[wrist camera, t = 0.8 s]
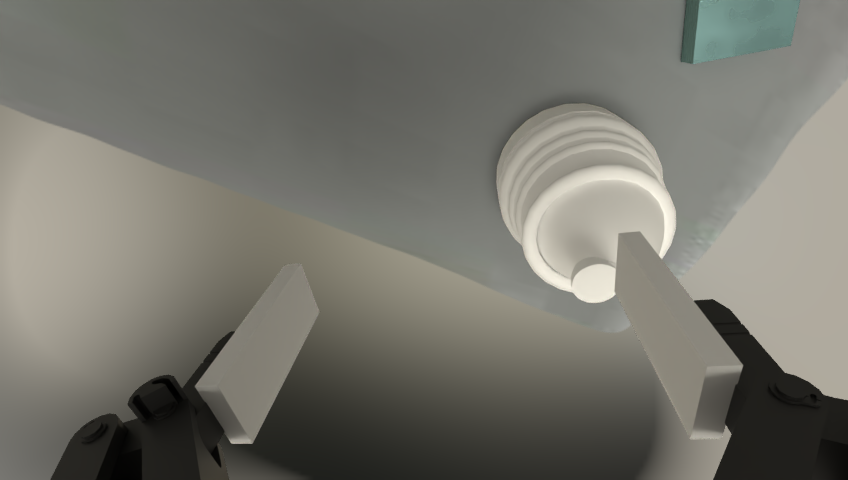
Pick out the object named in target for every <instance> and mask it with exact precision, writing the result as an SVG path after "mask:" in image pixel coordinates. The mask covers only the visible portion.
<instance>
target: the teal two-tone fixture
mask: <svg viewBox="0 0 848 480" xmlns="http://www.w3.org/2000/svg"><path fill="white" fill-rule="evenodd" d="M799 3H800V0H687V1H686V11H685V22H684V33H683V43H682V54H681V62H686V63H691V64H695V63H701V62H706V61H712V60H717V59H722V58H728V57H733V56H738V55H744V54H749V53H754V52H760V51H765V50H770V49H776V48H781V47H786V46H791V41H792V37H793V32H794V27H795V22H796V17H797V13H798V8H799Z"/></svg>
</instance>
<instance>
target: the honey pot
mask: <svg viewBox="0 0 848 480" xmlns="http://www.w3.org/2000/svg"><path fill="white" fill-rule="evenodd" d="M496 185H497V192H498V198H499V205H500V209H501V213H502V217H503V221H504V223H505V224H506V226H507V228H508V229H509V231H510V233H511V234H512V236H513V237H514V239H516V240H517V241H518V242H519V243H520V244H521V245H522V246H523V250H524V255H525V258H526V259H527V261H528V263H529V264H530V266H531V268H532V269H533V271H534V272H535V273H536V274H537V275H538V276H539V277H541V278H542V279H543V280H544V281H545V282H547V283H549V284H551V285H553V286H554V287H556V288H558V289H561V290H565V291H569V292H573V293H574V294H575V295H576V297H578V298H579V299H580V300H582V301H585V302H589V303H599V302H603V301H606V300H608V299H610V298H612V297H613V296H614V295H615V294H616V293H615V291H614V289H615V275H616V261H617V247H618V233H626V232H636V231H640V232H641V233H642V234H643V236H644V237H645V238H646V240H647V241H648V242H649V244H650V245H651V246H652V247H653V249H654V250H655V251H656V253H657V254H658V255H659V257H660V258H661V259H662V258H663V257H664V255H665V254H666V252H667V250H668V249H669V247H670V246H671V243H672V240H673V237H674V233H675V230H676V210H675V207H674V205H673V202H672V200H671V197H670V194H669V192H668V191H667V190H666V187H665V184H664V182H663V172H662V166H661V163H660V161H659V158H658V156H657V153H656V151H655V148H654V147H653V145H652V144H651V143H650V142H649V141H648V140H647V138H646V137H645V136H644V135H643V134H642V133H641V131H639V130H637V129H636V128H635V127H633V126H632V125H630V124H629V123H627V122H626V121H625V120H623V119H622V118H620V117H618V116H617V115H615V114H613V113H612V112H610V111H608V110H607V109H605V108H602V107H598V106H594V105H590V104H586V103H578V104H563V105H559V106H556V107H552V108H549V109H546V110H544V111H542V112H540V113H538V114H537V115H535V116H533V117H531V118H530V119H528V120H527V121H526V122H524V123H523V124H522V125H521V126H520V127H519V128H518V129H517V130H516V131H515V132H514V133H513V134H512V136H511V137H510V139H509V140H508V142H507V143H506V145H505V147H504V148H503V150H502V153H501V156H500V159H499V162H498V165H497V178H496ZM549 266H550V267H551V268H553V269H554V270H556V271H557V272H559V273H561V274H562V275H561V274H559V273H557V272H555V271H554V270H552V269H551V268H550V267H549ZM563 275H564V276H563ZM565 276H566V277H565Z"/></svg>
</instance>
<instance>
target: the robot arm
mask: <svg viewBox="0 0 848 480" xmlns="http://www.w3.org/2000/svg"><path fill="white" fill-rule="evenodd" d="M614 291H615V293H616V295H617V297H618V299H619V301H620V303H621V305H622V307H623V309H624V311H625V313H626V315H627V317H628V319H629V321H630V323H631V324H632V326H633V328H634V330H635V332H636V334H637V336H638V338H639V340H640V342H641V344H642V346H643V348H644V349H645V352H646V354H647V356H648V358H649V360H650V362H651V364H652V365H653V367H654V369H655V371H656V373H657V375H658V377H659V379H660V381H661V383H662V385H663V387H664V389H665V391H666V393H667V395H668V397H669V399H670V401H671V403H672V404H673V407H674V408H675V410H676V412H677V414H678V416H679V418H680V420H681V422H682V424H683V426H684V428H685V430H686V432H687V434H688V436H689V438H690V439H722V436H723V432H724V429H725V425H726V426H727V427H728V429H729V430H730V432H731V434H732V435H731V438H730V440H729V442H728V445H727V447H726V450H725V452H724V455H723V457H722V459H721V462H720V464H719V467H718V469H717V472H716V474H715V477H714V479H713V480H848V400H843V399H838V398H833V397H829V396H825V395H823V394H822V393H821V391H820V390H819V389H817V388H816V387H814V386H813V385H812V384H811V383H809V382H808V381H805V380H803V379H801V378H799V377H797V376H795V375H791V374H787V373H784V371H783V370H782V369H781V368H780V367H779V366H778V364H777V363H776V362H775V361H774V360H773V359H772V357H771V356H770V355H769V354H768V353H767V352H766V351H765V349H763V347H762V346H761V345H760V344H759V343H758V341H757V340H756V339H755V338H754V337H753V336H752V335H750V333H749V331H748V330H747V329H746V328H745V326H744V325H743V324H741V323H740V321H739V320H738V318H737V317H736V316H735V315H734V314H733V313H732V311H731V310H730V309H728V308H726V307H725V306H723V305H721V304H720V303H718V302H716V301H715V300H713V299H711V300H696V301H693V299H692V298H691V297H690V296H689V294H688V293H687V292H686V290H685V289H684V288H683V286H682V285H681V284H680V283H679V281H678V280H677V279H676V277H675V276H674V275H673V273H672V272H671V271H670V270H669V268H668V267H667V266H666V264H665V263H664V262H663V260H662V259H661V258H660V257H659V255H658V254H657V253H656V251H655V250H654V249H653V247H652V246H651V245H650V244H649V242H648V241H647V240H646V238H645V237H644V236H643V234H642V233H641V232H640V231H636V232H626V233H618V247H617V261H616V275H615V289H614ZM318 314H319V310H318V307H317V305H316V302H315V299H314V297H313V294H312V291H311V289H310V286H309V283H308V281H307V278H306V276H305V273H304V270H303V268H302V265H301V263H300V264H290V265H284V267H283V268H282V270H281V271H280V272H279V274H278V275H277V276H276V278H275V279H274V280H273V282H272V283H271V284H270V286H269V287H268V288H267V290H266V291H265V292H264V294H263V295H262V296H261V298H260V299H259V300H258V302H257V303H256V304H255V306H254V307H253V308H252V310H251V311H250V313H249V314H248V315H247V317H246V318H245V319H244V321H243V322H242V323H241V325H240V326H239V327H238V329H237V330H236V331H234V332H230V333H228V334H227V335H226V336H225V337H223V338H222V339H221V340H220V341H219V342H218V343H217V344H216V345H215V347H214V348H213V349H212V351H211V352H210V354H208V356H207V357H206V358H205V360H204V362H203V363H202V364H201V365H200V366H199V367H198V369H197V370H196V371H195V373H194V374H193V375H192V377H191V378H190V379H189V380H188V382H187V383H186V384H185V386H184V387H183V388H181V387H180V385H179V384H178V382H177V381H176V379H175V378H174V376H171V375H163V376H159V377H156V378H154V379H151V380H150V381H148V382H146V383H145V384H143V385H142V386H141V387H139V388H138V389H137V390H136V391H135V392H134V393H133V395H132V396H131V397H130V399H129V402H128V406H129V407H130V408H131V410H132V411H133V412H134V414H135V415H136V416H137V417H138V419H134V420H131V421H128V422H125V423H122V421H121V420H120V419H119V418H118V416H117V415H116V414H106V415H102V416H100V417H98V418H96V419H93V420H91V421H90V422H88V423H87V424H85V425H84V426H83V427H82V428H81V429H80V430H79V431H78V432H77V433H75V434H74V436H73V437H72V439H71V440H70V442H69V444H68V446H67V448H66V450H65V452H64V454H63V456H62V458H61V460H60V462H59V464H58V466H57V468H56V470H55V472H54V474H53V476H52V478H51V480H229V477H228V473H227V468H226V464H225V459H224V455H223V450H222V448H221V446H220V445H219V443H218V442H219V440H220V439H221V437H222V435H223V433H225V434H226V436H227V437H228V439H229V440H230V442H231V444H234V443H235V444H239V443H241V444H242V443H243V444H244V443H253V441H254V439H255V437H256V435H257V433H258V431H259V430H260V428H261V426H262V424H263V422H264V420H265V418H266V416H267V414H268V412H269V410H270V408H271V406H272V404H273V402H274V400H275V398H276V396H277V394H278V392H279V390H280V388H281V386H282V384H283V382H284V380H285V379H286V377H287V375H288V373H289V371H290V369H291V367H292V365H293V363H294V361H295V359H296V357H297V355H298V353H299V351H300V349H301V347H302V345H303V343H304V341H305V339H306V337H307V335H308V333H309V331H310V329H311V328H312V326H313V324H314V322H315V320H316V318H317V316H318Z"/></svg>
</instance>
